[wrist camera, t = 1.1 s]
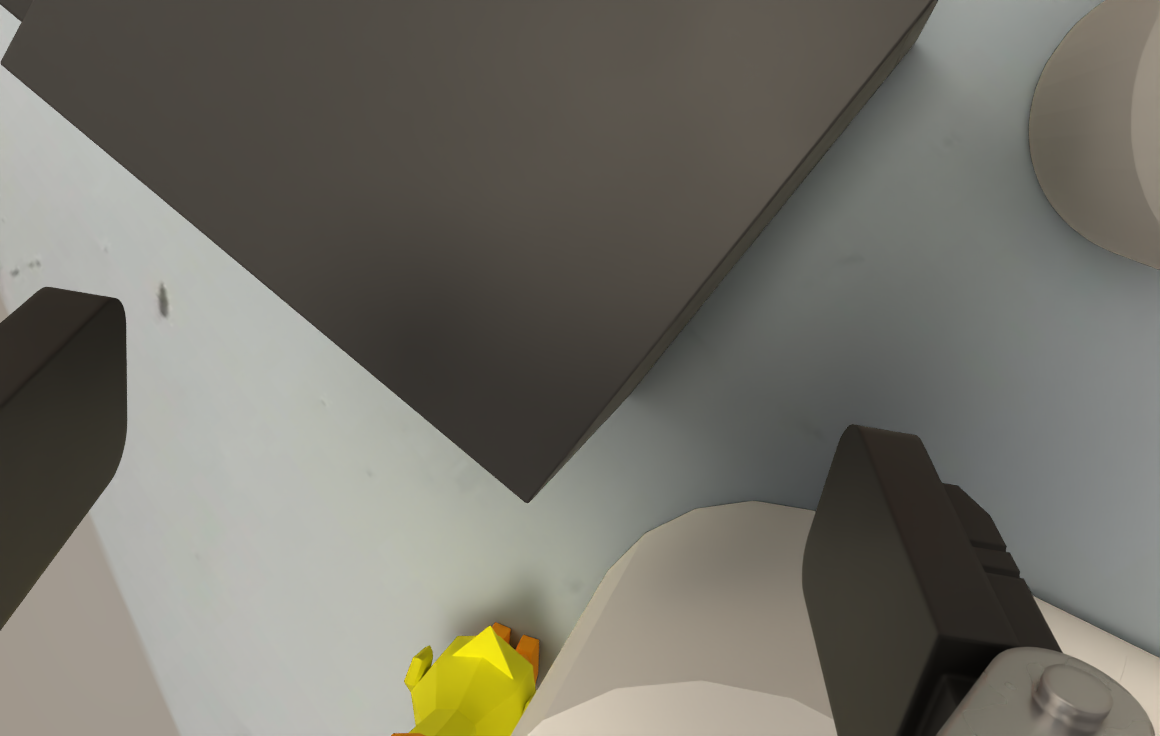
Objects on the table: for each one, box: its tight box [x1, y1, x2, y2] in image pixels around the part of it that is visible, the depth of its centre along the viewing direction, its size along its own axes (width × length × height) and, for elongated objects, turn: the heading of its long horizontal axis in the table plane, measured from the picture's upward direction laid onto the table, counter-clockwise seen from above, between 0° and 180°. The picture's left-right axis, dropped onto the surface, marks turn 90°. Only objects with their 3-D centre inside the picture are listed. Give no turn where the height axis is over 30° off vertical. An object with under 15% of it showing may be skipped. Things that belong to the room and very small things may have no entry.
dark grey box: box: [1, 0, 938, 503], centre depth 24 cm, size 14×12×10 cm
